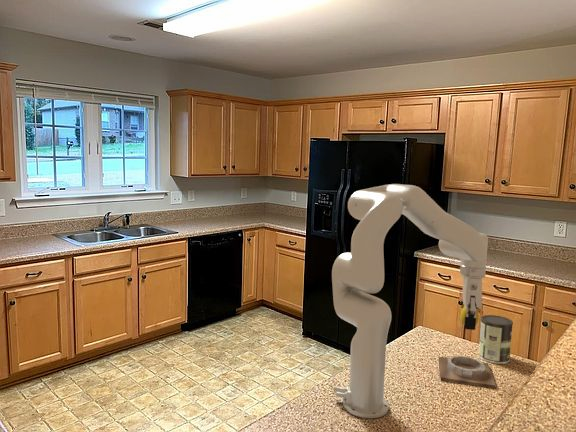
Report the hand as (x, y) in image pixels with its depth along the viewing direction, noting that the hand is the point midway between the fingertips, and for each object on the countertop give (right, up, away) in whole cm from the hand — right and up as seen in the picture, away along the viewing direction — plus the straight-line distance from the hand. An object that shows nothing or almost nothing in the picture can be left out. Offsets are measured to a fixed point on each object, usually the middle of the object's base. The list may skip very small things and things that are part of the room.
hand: (468, 325), depth 144 cm
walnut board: (0, -16, +2) cm, 16 cm away
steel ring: (0, -16, +2) cm, 16 cm away
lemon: (0, -1, 0) cm, 1 cm away
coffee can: (+15, -15, +14) cm, 26 cm away
